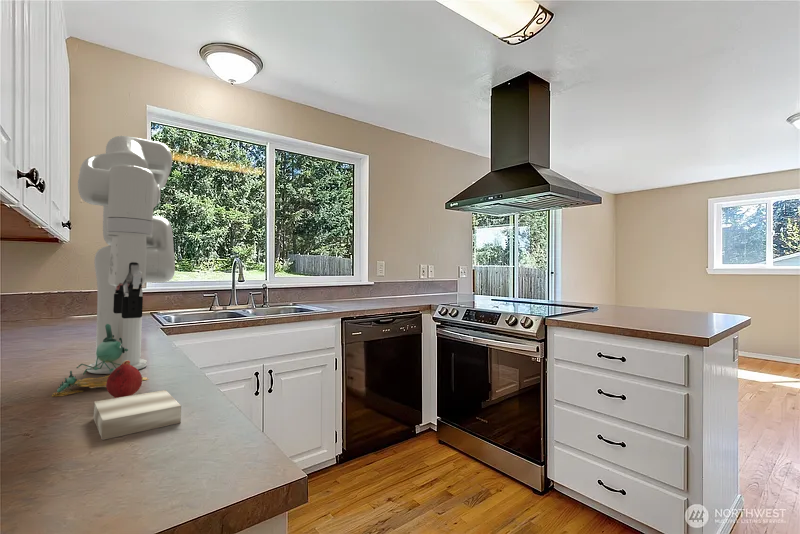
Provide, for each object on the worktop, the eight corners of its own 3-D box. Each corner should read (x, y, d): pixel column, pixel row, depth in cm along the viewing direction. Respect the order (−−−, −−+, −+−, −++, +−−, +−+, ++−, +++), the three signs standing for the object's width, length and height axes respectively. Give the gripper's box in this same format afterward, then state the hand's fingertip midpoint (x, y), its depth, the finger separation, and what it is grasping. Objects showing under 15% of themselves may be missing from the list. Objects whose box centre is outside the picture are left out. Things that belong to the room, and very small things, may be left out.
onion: (123, 407, 75) (124, 365, 75) (98, 404, 76) (99, 362, 76) (148, 397, 81) (149, 358, 81) (124, 394, 82) (126, 356, 82)
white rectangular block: (93, 418, 69) (94, 401, 69) (164, 405, 77) (165, 389, 77) (102, 440, 61) (102, 420, 61) (180, 422, 69) (181, 405, 69)
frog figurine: (44, 389, 84) (57, 320, 85) (141, 383, 97) (151, 323, 98) (50, 400, 77) (64, 324, 79) (154, 392, 90) (164, 327, 92)
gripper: (100, 230, 82) (97, 312, 82) (114, 224, 70) (110, 321, 69) (143, 233, 87) (140, 310, 87) (162, 228, 75) (159, 318, 75)
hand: (127, 315), depth 78 cm, fingers open, 9 cm apart
